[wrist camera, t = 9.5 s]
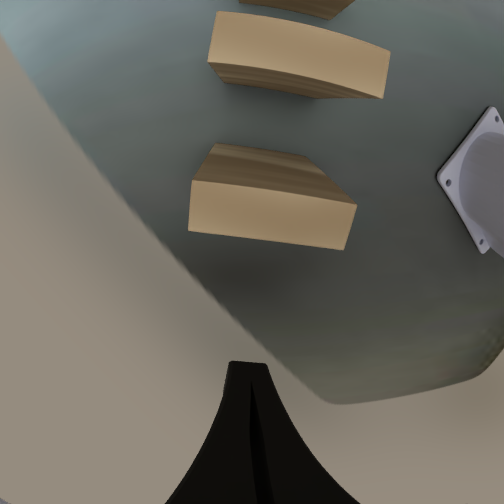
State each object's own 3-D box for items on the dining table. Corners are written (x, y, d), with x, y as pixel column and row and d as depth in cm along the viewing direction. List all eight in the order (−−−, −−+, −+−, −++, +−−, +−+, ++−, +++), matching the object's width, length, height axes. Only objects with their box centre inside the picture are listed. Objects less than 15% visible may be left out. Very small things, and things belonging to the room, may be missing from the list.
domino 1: (299, 183, 16) (343, 250, 9) (211, 170, 16) (188, 230, 9) (305, 156, 16) (357, 204, 9) (215, 142, 15) (192, 180, 8)
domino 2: (316, 98, 14) (382, 99, 7) (224, 82, 13) (207, 61, 6) (321, 72, 13) (390, 51, 6) (228, 55, 13) (217, 10, 6)
